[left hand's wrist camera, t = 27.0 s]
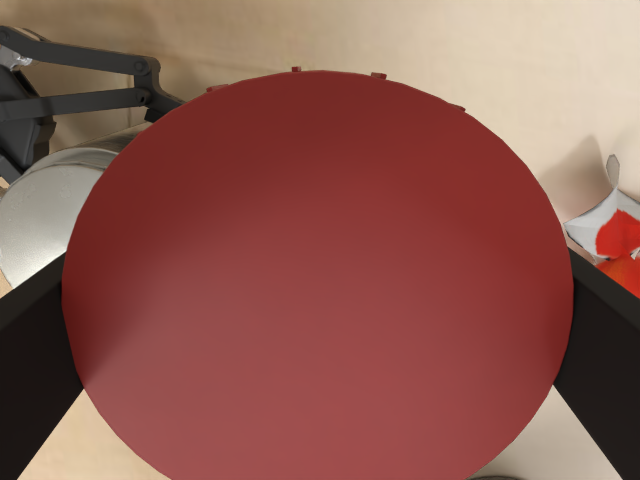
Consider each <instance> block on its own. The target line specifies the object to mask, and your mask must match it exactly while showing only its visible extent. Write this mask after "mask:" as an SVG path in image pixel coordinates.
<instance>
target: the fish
mask: <svg viewBox="0 0 640 480" xmlns="http://www.w3.org/2000/svg"><path fill="white" fill-rule="evenodd" d="M606 169H607V173H608V176H609V179H610V183H611V186H612V188H613V191H612V192H611V193H610V194H609V195H608V197H607V198H605V199H604V200H603V201H601V202H600V203H599V204H598V205H596V206H595V207H594V208H592V209H591V210H589V211H587V212H585V213H584V214H582V215H580V216H578V217H576V218H574V219H572V220H570V221H568V222H565V223H563V224H564V226H565V229H566V231H567V234H568V236H569V237H570V238H571V239H572V240H573V241H575V242H576V243H577V244H578V245H580V246H581V247H582V248H584V249H585V250H587V251H588V252H589V253H590V254H591V256H592V257H593V258H594V260H595V263H596V265H595V267H596V268H598V269H599V270H600V271H602V272H603V273H605V274H606V275H607V276H609V277H610V278H612V279H613V280H614V281H616V282H617V283H618V284H620V285H621V286H623V287H624V288H625V289H627V290H628V291H630V292H631V293H632V294H634V295H635V296H636V297H638V298H639V299H640V251H639V252H638V254H637V256H636V258H635V260H634V259H633V258H632V257H631V255H632V254H633V253H634V252H635V251H636V250H637V249H639V248H640V203H639V202H638V201H636V200H634V199H632V198H630V197H629V196H627V195H625V194H624V193H623V192H621V191H620V190H618V189H617V187H618V178H619V162H618V160H617V158H616V156H615V155H610V156H609V158H608V161H607V165H606Z"/></svg>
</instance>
